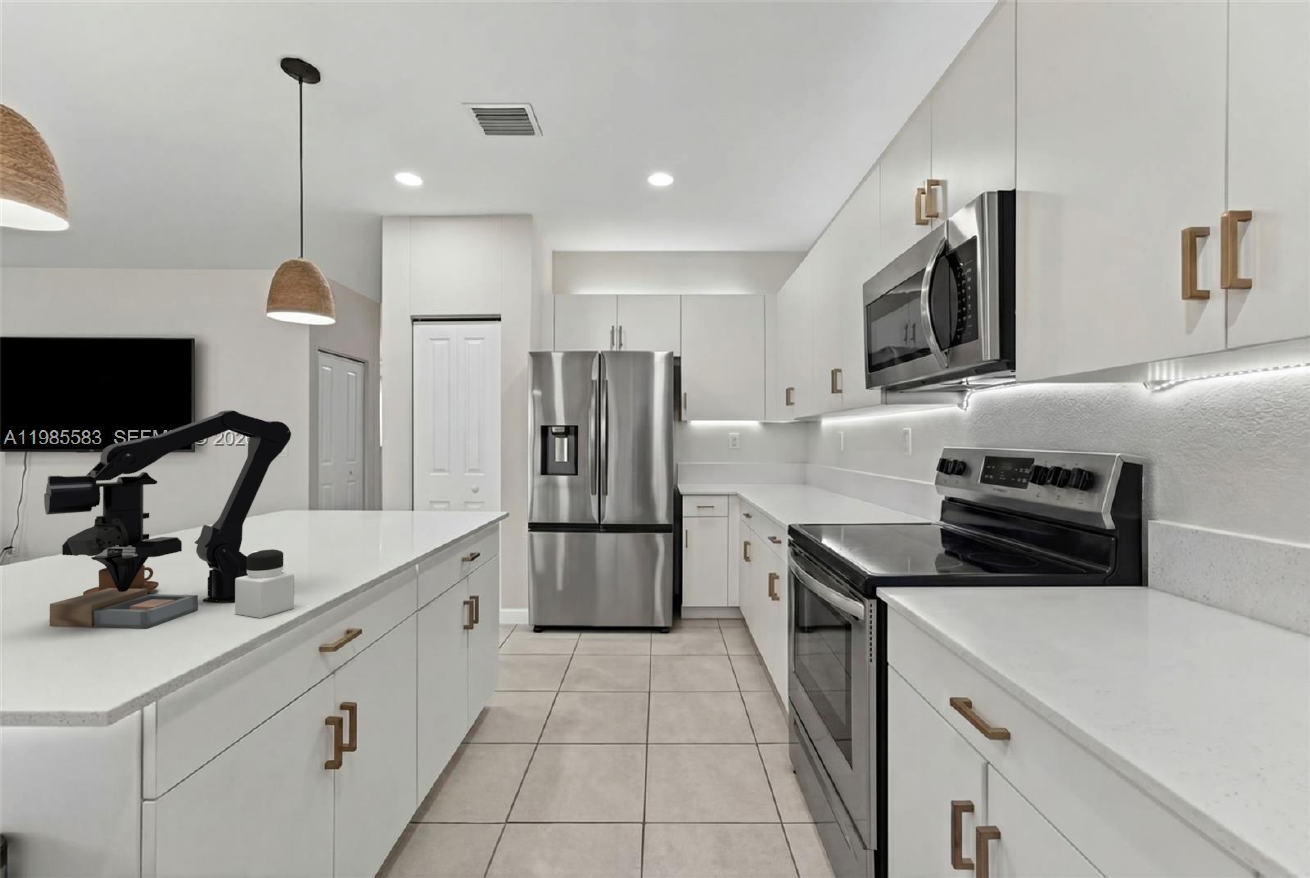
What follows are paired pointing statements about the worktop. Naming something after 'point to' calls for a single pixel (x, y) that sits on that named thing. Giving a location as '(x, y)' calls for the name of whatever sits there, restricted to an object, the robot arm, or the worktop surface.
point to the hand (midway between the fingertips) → (123, 591)
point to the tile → (149, 604)
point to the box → (145, 612)
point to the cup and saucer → (137, 583)
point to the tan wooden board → (88, 606)
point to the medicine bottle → (264, 586)
